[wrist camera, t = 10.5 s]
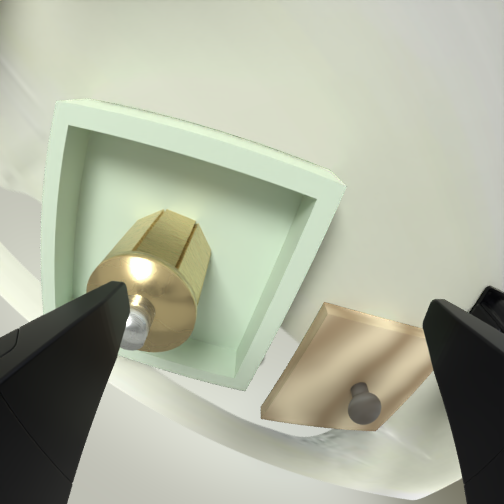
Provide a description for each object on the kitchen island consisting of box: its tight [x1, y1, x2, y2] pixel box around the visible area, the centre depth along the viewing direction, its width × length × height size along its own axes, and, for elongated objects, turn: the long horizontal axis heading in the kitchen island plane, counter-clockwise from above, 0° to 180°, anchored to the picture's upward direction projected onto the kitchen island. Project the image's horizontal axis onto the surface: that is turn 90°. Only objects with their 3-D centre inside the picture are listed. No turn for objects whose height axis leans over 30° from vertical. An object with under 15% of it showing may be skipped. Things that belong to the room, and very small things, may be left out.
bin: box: [41, 99, 347, 391], centre depth 20 cm, size 16×16×4 cm
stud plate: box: [261, 302, 433, 431], centre depth 25 cm, size 14×14×6 cm
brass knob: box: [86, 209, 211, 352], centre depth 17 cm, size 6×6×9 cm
